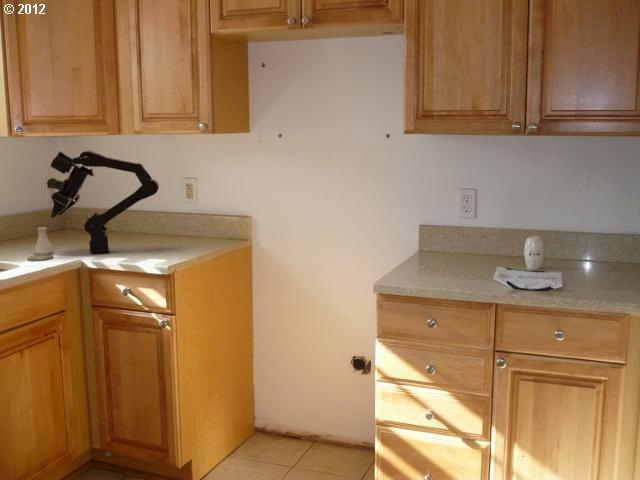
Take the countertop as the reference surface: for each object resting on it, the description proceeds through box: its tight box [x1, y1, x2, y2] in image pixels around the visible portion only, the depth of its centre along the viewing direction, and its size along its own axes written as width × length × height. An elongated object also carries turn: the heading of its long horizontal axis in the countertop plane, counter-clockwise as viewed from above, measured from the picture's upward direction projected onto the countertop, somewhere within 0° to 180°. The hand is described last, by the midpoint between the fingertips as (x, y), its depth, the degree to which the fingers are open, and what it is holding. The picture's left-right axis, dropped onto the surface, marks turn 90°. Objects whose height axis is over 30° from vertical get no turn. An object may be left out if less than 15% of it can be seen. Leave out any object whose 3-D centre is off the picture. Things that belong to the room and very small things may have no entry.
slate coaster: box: [26, 254, 54, 262], centre depth 263 cm, size 9×9×1 cm
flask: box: [33, 227, 55, 255], centre depth 272 cm, size 7×7×10 cm
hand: (55, 216), depth 269 cm, fingers open, 9 cm apart
